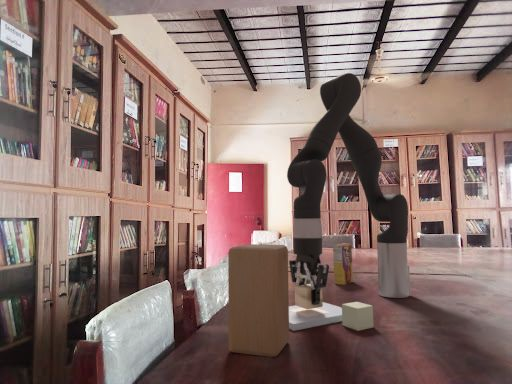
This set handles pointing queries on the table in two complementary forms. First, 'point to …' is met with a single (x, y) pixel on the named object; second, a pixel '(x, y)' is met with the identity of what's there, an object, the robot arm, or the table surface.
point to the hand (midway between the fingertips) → (308, 301)
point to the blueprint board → (313, 316)
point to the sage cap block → (357, 315)
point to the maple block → (305, 297)
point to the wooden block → (258, 299)
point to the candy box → (342, 263)
